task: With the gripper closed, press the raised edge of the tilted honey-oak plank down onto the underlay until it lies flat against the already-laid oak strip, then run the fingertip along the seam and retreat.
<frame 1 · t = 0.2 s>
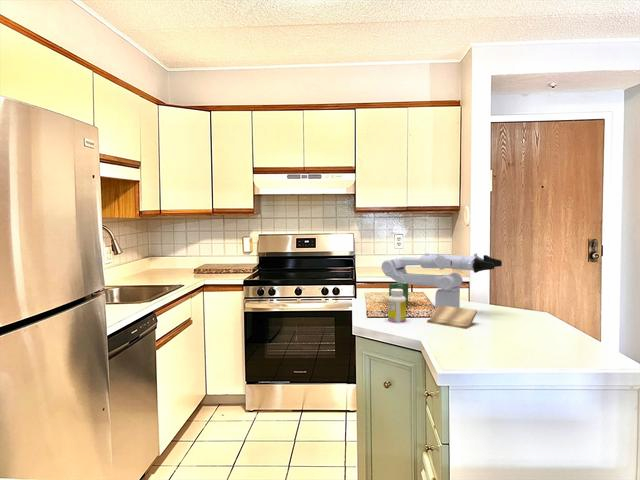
hand: (497, 264, 186), 21 cm above the counter, tool horizontal, fingers open, 7 cm apart
plank: (453, 315, 179), point 4 cm above the counter, hinge at 30.0°
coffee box: (398, 315, 196), on the counter
locked strip: (447, 323, 175), on the underlay, point 1 cm above the counter
supplement bottle: (397, 323, 182), on the counter
underlay: (453, 325, 179), on the counter
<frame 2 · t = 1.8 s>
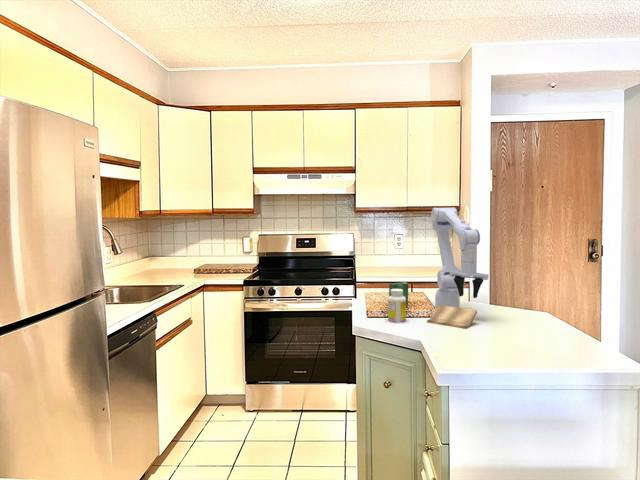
hand: (468, 296, 184), 9 cm above the counter, tool pointing down, fingers open, 5 cm apart
nothing on the counter moved.
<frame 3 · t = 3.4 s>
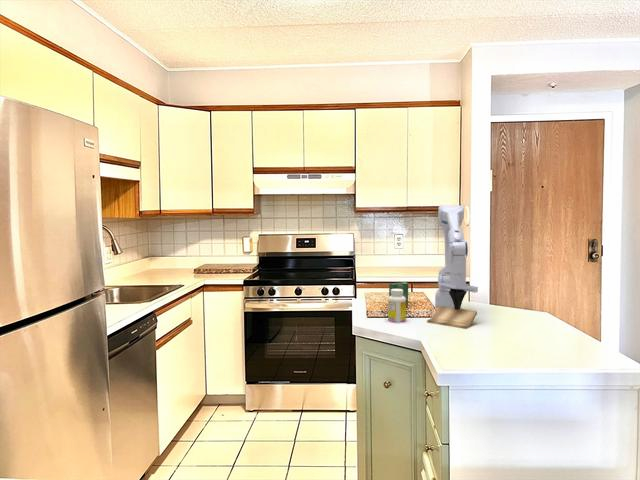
hand: (457, 309, 181), 5 cm above the counter, tool pointing down, fingers closed, pressing on plank
plank: (453, 315, 179), point 3 cm above the counter, hinge at 27.1°, touching gripper
everything else where it was.
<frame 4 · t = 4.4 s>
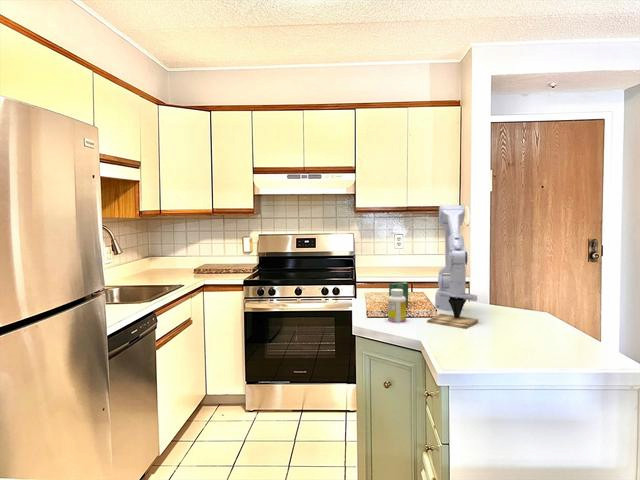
hand: (457, 317, 181), 2 cm above the counter, tool pointing down, fingers closed, pressing on plank
plank: (454, 320, 179), point 2 cm above the counter, hinge at 1.5°, touching gripper
everything else where it was.
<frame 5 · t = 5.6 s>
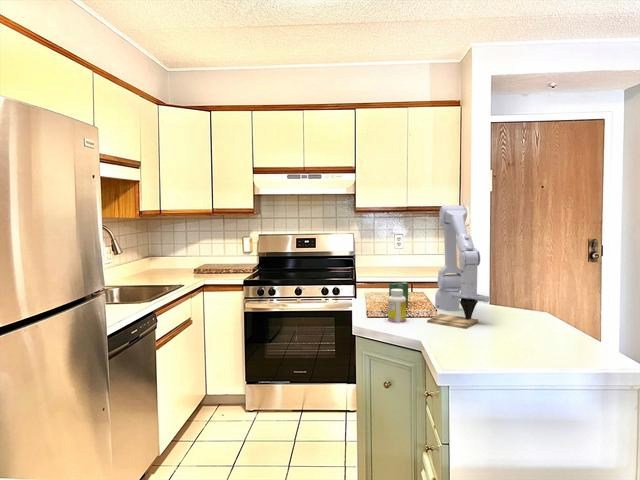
hand: (468, 318, 179), 2 cm above the counter, tool pointing down, fingers closed, pressing on plank
plank: (454, 320, 179), point 2 cm above the counter, hinge at 1.4°, touching gripper
everything else where it was.
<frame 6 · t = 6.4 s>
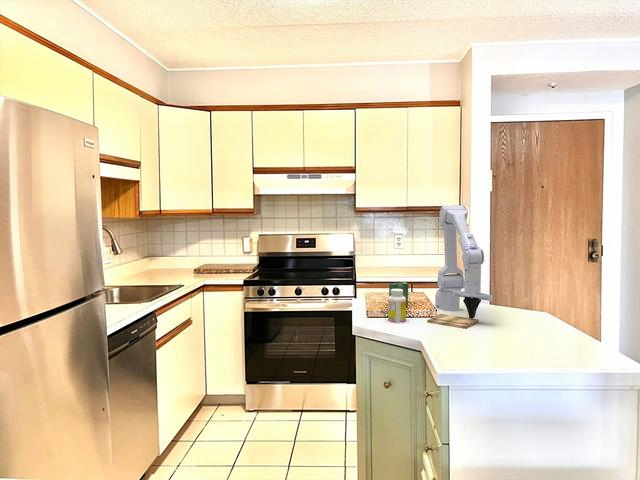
hand: (471, 317, 178), 3 cm above the counter, tool pointing down, fingers closed
plank: (454, 320, 179), point 2 cm above the counter, hinge at 1.4°
everything else where it was.
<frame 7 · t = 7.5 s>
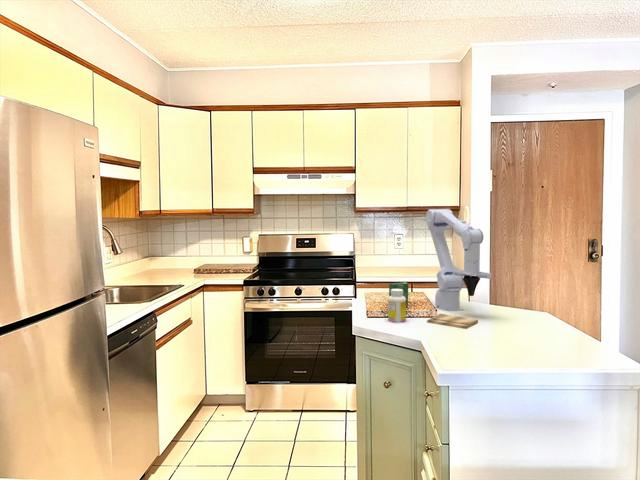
hand: (471, 295, 186), 9 cm above the counter, tool pointing down, fingers closed
nothing on the counter moved.
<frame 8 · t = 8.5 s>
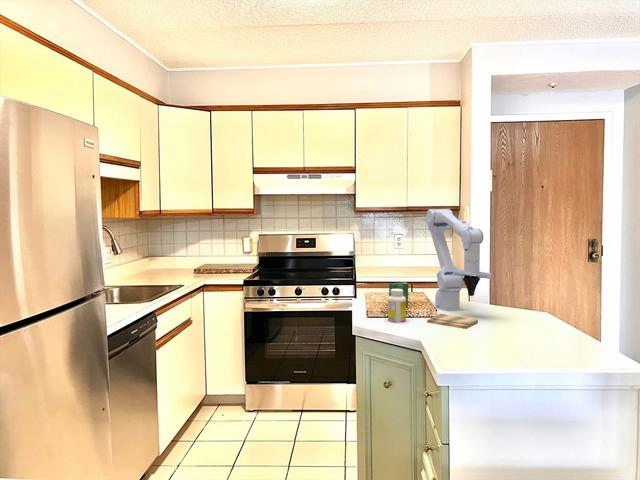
hand: (471, 295, 186), 9 cm above the counter, tool pointing down, fingers closed
nothing on the counter moved.
at the end: plank at +1° (first picture: +30°); plank touching nothing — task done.
